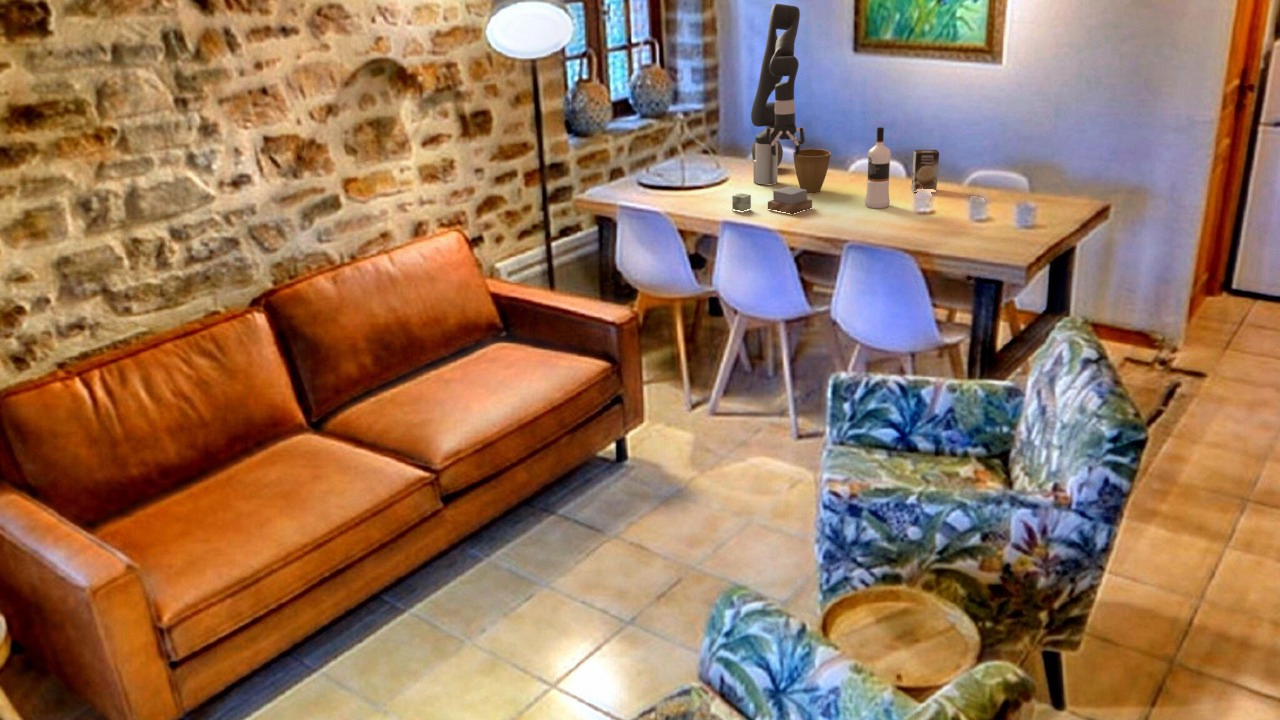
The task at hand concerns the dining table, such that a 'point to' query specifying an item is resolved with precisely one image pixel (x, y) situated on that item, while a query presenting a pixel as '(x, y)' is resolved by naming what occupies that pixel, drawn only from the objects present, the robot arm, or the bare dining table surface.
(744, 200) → the sage block
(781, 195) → the tower upper block
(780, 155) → the grey curved pieces
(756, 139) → the robot arm
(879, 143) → the vodka
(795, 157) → the plant pot
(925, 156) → the coffee box
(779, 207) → the tower lower block
